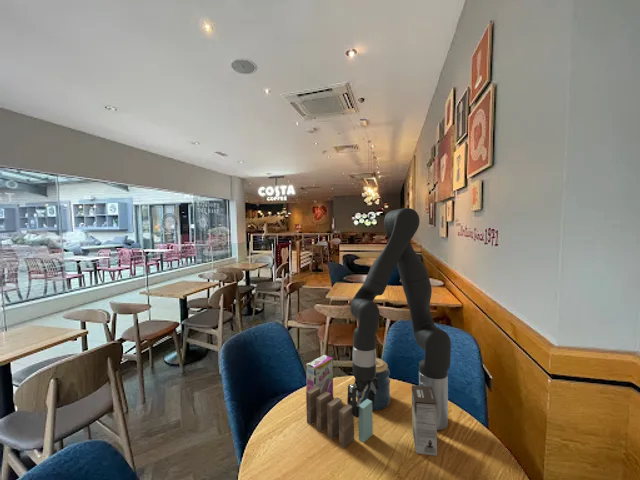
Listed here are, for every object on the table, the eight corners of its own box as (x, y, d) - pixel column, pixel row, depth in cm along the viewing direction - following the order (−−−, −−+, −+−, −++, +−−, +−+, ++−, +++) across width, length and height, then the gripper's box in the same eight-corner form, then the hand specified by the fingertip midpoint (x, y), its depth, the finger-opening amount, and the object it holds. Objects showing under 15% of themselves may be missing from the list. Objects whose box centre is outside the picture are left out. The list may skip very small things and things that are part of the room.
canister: (351, 393, 113) (351, 351, 112) (380, 388, 116) (379, 347, 116) (365, 413, 100) (364, 366, 100) (396, 407, 104) (396, 361, 103)
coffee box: (411, 431, 91) (411, 384, 91) (432, 434, 90) (431, 385, 89) (415, 453, 82) (414, 401, 82) (438, 456, 81) (437, 403, 80)
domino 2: (331, 424, 95) (330, 393, 95) (321, 432, 92) (320, 400, 91) (327, 422, 97) (326, 391, 96) (316, 429, 93) (316, 397, 93)
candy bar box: (315, 411, 103) (314, 368, 102) (306, 406, 106) (305, 364, 105) (334, 397, 111) (333, 357, 110) (324, 392, 114) (323, 353, 114)
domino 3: (342, 431, 92) (341, 399, 91) (332, 440, 88) (331, 406, 88) (337, 428, 93) (337, 397, 93) (327, 437, 90) (327, 403, 89)
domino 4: (354, 439, 88) (353, 405, 88) (344, 448, 85) (343, 413, 84) (349, 436, 90) (348, 403, 89) (339, 445, 86) (338, 410, 86)
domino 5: (372, 434, 90) (372, 401, 90) (363, 442, 87) (363, 408, 86) (367, 431, 92) (367, 398, 91) (358, 439, 88) (358, 405, 88)
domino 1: (320, 418, 99) (320, 388, 98) (310, 425, 95) (310, 394, 95) (316, 415, 100) (316, 385, 100) (306, 422, 97) (306, 391, 96)
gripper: (360, 372, 81) (360, 426, 81) (386, 357, 91) (386, 405, 91) (340, 364, 86) (340, 414, 87) (367, 350, 96) (367, 395, 97)
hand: (364, 409), depth 89 cm, fingers open, 8 cm apart
